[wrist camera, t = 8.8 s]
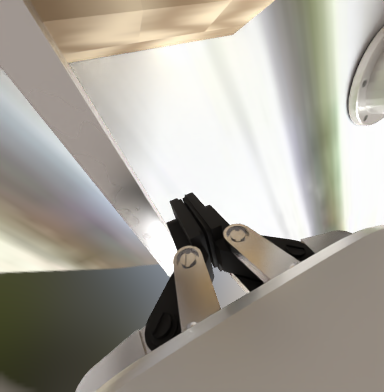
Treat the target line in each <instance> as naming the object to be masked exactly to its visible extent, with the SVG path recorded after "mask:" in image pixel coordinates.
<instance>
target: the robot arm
mask: <svg viewBox="0 0 384 392" xmlns="http://www.w3.org/2000/svg"><path fill="white" fill-rule="evenodd" d="M348 108H349V115H350V118H351V120H352V121H353V123H354V124H356V125H363V126H367V125H372V124H374V123H376V122H378V121H379V120H381V119H382V118H383V117H384V26H383V28H382V29H381V30H380V31H379V32H378V33H377V35H376V36H375V37H374V39H373V40H372V42H371V43H370V45H369V46H368V48H367V50H366V52H365V53H364V55H363V57H362V59H361V61H360V64H359V66H358V68H357V71H356V73H355V76H354V79H353V82H352V86H351V90H350V95H349V106H348ZM183 202H184V203H183ZM170 204H171V207H172V209H173V212H174V215H175V218H176V219H174V220H172V221H170V222H167V226H168V229H169V231H170V234H171V237H172V239H173V242H174V245H175V247H176V250H177V252H176V253H175V255H174V257H173V268H174V271H173V273H172V275H171V277H170V279H169V281H168V283H167V285H166V287H165V289H164V290H163V292H162V294H161V296H160V298H159V300H158V302H157V304H156V305H155V308H154V309H153V311H152V313H151V315H150V317H149V319H148V321H147V324H146V326H144V327H143V328H142V329H141V330H140V331H139V330H136V331H135V332H134V333H133V334H132V335H130V336H129V337H128V338H127V339H126V340H125V341H123V342H122V343H121V344H120V345H119V346H117V347H116V348H115V349H114V350H113V351H112V352H110V354H108V355H107V356H106V357H104V358H103V359H102V360H101V361H100V362H99V363H97V364H96V365H95V366H94V367H93V368H92V369H91V370H90V371H89V372H88V373H87V374H86V375H85V376H84V377H83V379H82V380H81V383H80V384H79V385H78V387H77V390H76V392H384V225H380V226H375V227H370V228H366V229H363V230H360V231H357V232H355V233H353V234H352V233H350V232H347V231H340V230H337V231H331V232H327V233H324V234H320V235H316V236H312V237H308V238H304V239H301V242H299V241H295V240H290V239H283V238H276V237H269V236H262V235H259V234H258V233H256V232H255V231H253V230H252V229H250V228H249V227H247V226H245V225H242V224H232V225H229V224H228V223H227V222H226V221H225V220H224V219H223V218H222V217H221V216H220V215H219V214H218V213H217V211H216V210H215V209H214V208H213V207H212V206H210V205H208V206H204V205H203V204H202V203H201V202H200V200H199V199H198V198H197V197H196V196H195V195H194V194H193V193H189V194H187V195H185V198H183V201H182V200H181V199H180V200H178V199H174V200H171V201H170ZM211 263H212V264H213V266H214V267H218V269H219V270H220V271H222V270H224V271H226V272H229V273H230V275H231V276H232V278H233V279H234V280H235V281H236V282H237V283H238V284H239V285H240V287H241V288H242V289H243V290H244V291H245V292H246V293H247V294H246V295H244V296H243V297H241V298H240V299H238V300H236V301H234V302H233V303H231V304H229V305H228V306H226V307H224V308H222V309H221V308H220V305H219V302H218V300H217V296H216V293H215V291H214V288H213V285H212V282H213V279H214V274H213V270H212V269H213V268H212V264H211Z"/></svg>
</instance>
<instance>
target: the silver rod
mask: <svg viewBox="0 0 384 392" xmlns="http://www.w3.org/2000/svg"><path fill="white" fill-rule="evenodd" d="M0 67H1V68H2V69H3V70H4V72H5V73H6V74H7V75H8V77H9V78H10V79H11V80H12V81H13V83H14V84H15V85H16V86H17V88H18V89H19V90H20V91H21V93H22V94H23V95H24V96H25V98H26V99H27V100H28V101H29V103H30V104H31V105H32V106H33V108H34V109H35V110H36V111H37V112H38V114H39V115H40V116H41V117H42V119H43V120H44V121H45V122H46V124H47V125H48V126H49V127H50V129H51V130H52V131H53V132H54V134H55V135H56V136H57V137H58V139H59V140H60V141H61V142H62V144H63V145H64V146H65V147H66V148H67V150H68V151H69V152H70V153H71V155H72V156H73V157H74V158H75V160H76V161H77V162H78V163H79V165H80V166H81V167H82V168H83V170H84V171H85V172H86V173H87V175H88V176H89V177H90V178H91V179H92V181H93V182H94V183H95V184H96V186H97V187H98V188H99V189H100V191H101V192H102V193H103V194H104V196H105V197H106V198H107V199H108V201H109V202H110V203H111V204H112V206H113V207H114V208H115V209H116V211H117V212H118V213H119V214H120V215H121V217H122V218H123V219H124V220H125V222H126V223H127V224H128V225H129V227H130V228H131V229H132V230H133V232H134V233H135V234H136V235H137V237H138V238H139V239H140V240H141V242H142V243H143V244H144V245H145V247H146V248H147V249H148V250H149V251H150V253H151V254H152V255H153V256H154V258H155V259H156V260H157V261H158V263H159V264H160V265H161V266H162V268H163V269H164V270H165V271H166V273H167V274H168V275H169V276H170V277H171V275H172V273H173V271H174V268H173V257H174V255H175V253H176V252H177V250H176V247H175V245H174V242H173V239H172V237H171V234H170V231H169V229H168V226H167V225H166V223H165V221H164V220H163V218H162V217H161V215H160V213H159V212H158V210H157V208H156V207H155V205H154V203H153V202H152V200H151V199H150V197H149V195H148V194H147V192H146V190H145V189H144V187H143V185H142V184H141V182H140V180H139V179H138V177H137V176H136V174H135V172H134V171H133V169H132V167H131V166H130V164H129V162H128V161H127V159H126V157H125V156H124V154H123V153H122V151H121V149H120V148H119V146H118V144H117V143H116V141H115V139H114V138H113V136H112V135H111V133H110V131H109V130H108V128H107V126H106V125H105V123H104V121H103V120H102V118H101V116H100V115H99V113H98V112H97V110H96V108H95V107H94V105H93V103H92V102H91V100H90V98H89V97H88V95H87V94H86V92H85V90H84V89H83V87H82V85H81V84H80V82H79V80H78V79H77V77H76V75H75V74H74V72H73V71H72V69H71V67H70V66H69V64H68V62H67V61H66V59H65V57H64V56H63V54H62V53H61V51H60V49H59V48H58V46H57V44H56V43H55V41H54V39H53V38H52V36H51V34H50V33H49V31H48V30H47V28H46V26H45V25H44V23H43V21H42V20H41V18H40V16H39V15H38V13H37V11H36V10H35V8H34V7H33V5H32V3H31V2H30V0H0Z"/></svg>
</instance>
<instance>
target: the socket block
mask: <svg viewBox="0 0 384 392" xmlns="http://www.w3.org/2000/svg"><path fill="white" fill-rule="evenodd" d="M273 1H275V0H30V2H31V3H32V5H33V7H34V8H35V10H36V11H37V13H38V15H39V16H40V18H41V20H42V21H43V23H44V25H45V26H46V28H47V30H48V31H49V33H50V34H51V36H52V38H53V39H54V41H55V43H56V44H57V46H58V48H59V49H60V51H61V53H62V54H63V56H64V57H65V59H66V61H67V62H68V63H71V62H77V61H83V60H89V59H95V58H100V57H106V56H112V55H118V54H124V53H129V52H135V51H141V50H147V49H153V48H158V47H164V46H170V45H176V44H181V43H187V42H193V41H199V40H205V39H210V38H216V37H222V36H228V35H233V34H234V33H236V32H237V31H238V30H239V29H240V28H242V27H243V26H244V25H245V24H247V23H248V22H249V21H250V20H251V19H253V18H254V17H255V16H256V15H258V14H259V13H260V12H261V11H262V10H264V9H265V8H266V7H267V6H269V5H270V4H271V3H272V2H273Z"/></svg>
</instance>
